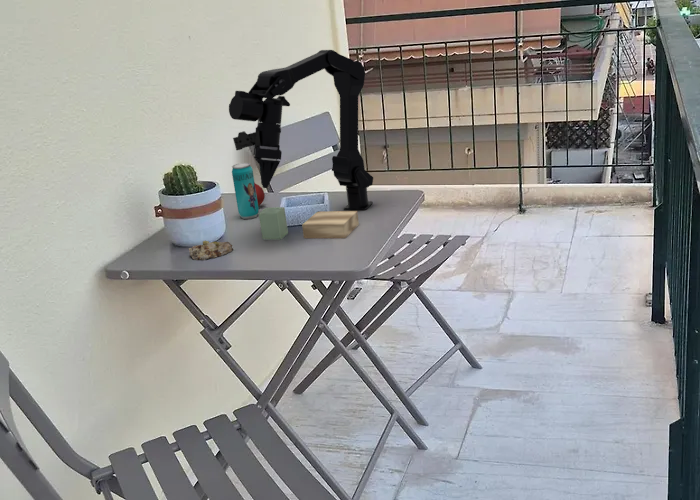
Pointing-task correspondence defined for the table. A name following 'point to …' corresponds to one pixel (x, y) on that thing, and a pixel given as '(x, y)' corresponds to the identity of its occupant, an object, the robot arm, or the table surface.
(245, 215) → the beverage can
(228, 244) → the mineral rock
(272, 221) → the sage block
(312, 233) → the oak box
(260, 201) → the onion
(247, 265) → the table surface
